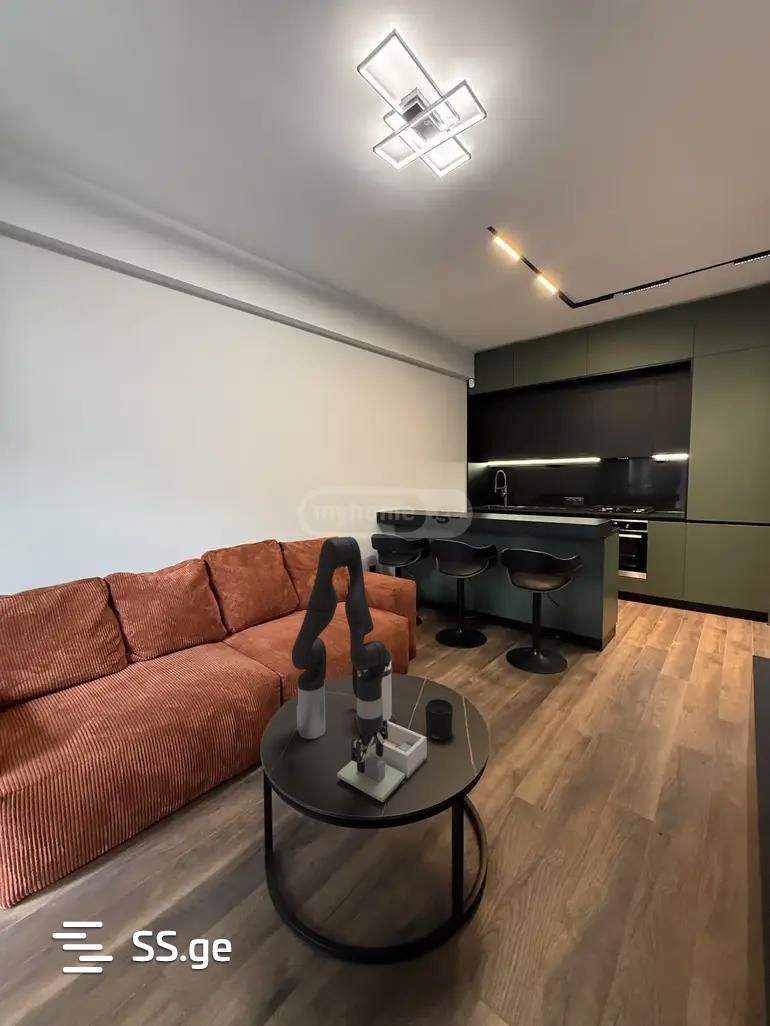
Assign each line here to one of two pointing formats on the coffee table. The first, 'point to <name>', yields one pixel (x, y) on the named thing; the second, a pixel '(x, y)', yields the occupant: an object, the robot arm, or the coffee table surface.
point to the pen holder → (439, 719)
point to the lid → (372, 777)
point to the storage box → (402, 749)
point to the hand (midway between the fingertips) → (370, 763)
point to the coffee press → (385, 687)
